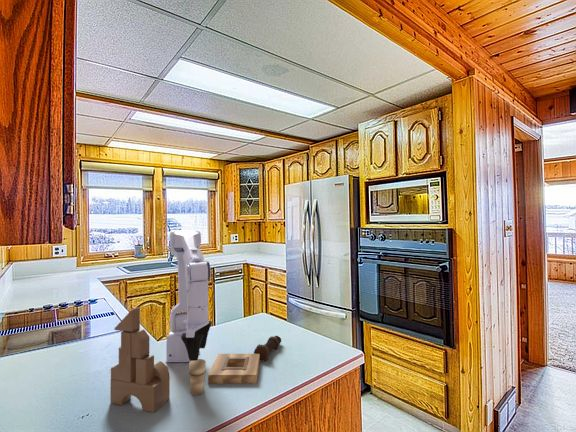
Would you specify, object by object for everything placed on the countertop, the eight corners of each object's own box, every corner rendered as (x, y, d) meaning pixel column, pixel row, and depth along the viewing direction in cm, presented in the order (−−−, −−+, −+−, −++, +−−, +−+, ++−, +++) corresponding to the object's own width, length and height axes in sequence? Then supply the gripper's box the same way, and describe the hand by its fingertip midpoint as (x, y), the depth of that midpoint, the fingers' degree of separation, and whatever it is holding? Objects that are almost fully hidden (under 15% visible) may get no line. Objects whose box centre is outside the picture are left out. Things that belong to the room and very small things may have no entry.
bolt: (279, 349, 119) (262, 365, 105) (269, 341, 120) (251, 356, 106) (286, 337, 118) (270, 351, 104) (276, 329, 119) (258, 342, 105)
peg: (186, 395, 84) (186, 366, 84) (191, 386, 89) (191, 358, 89) (203, 395, 84) (203, 366, 84) (207, 386, 89) (207, 358, 89)
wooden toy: (171, 397, 84) (171, 305, 84) (153, 413, 77) (154, 312, 77) (124, 388, 88) (125, 300, 88) (104, 402, 82) (105, 307, 82)
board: (208, 383, 91) (208, 374, 91) (218, 361, 105) (218, 353, 105) (255, 383, 91) (255, 374, 91) (259, 361, 105) (259, 353, 105)
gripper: (191, 298, 94) (190, 343, 94) (174, 313, 80) (174, 366, 79) (214, 298, 94) (214, 343, 94) (201, 312, 80) (201, 366, 80)
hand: (197, 353), depth 87 cm, fingers open, 7 cm apart
